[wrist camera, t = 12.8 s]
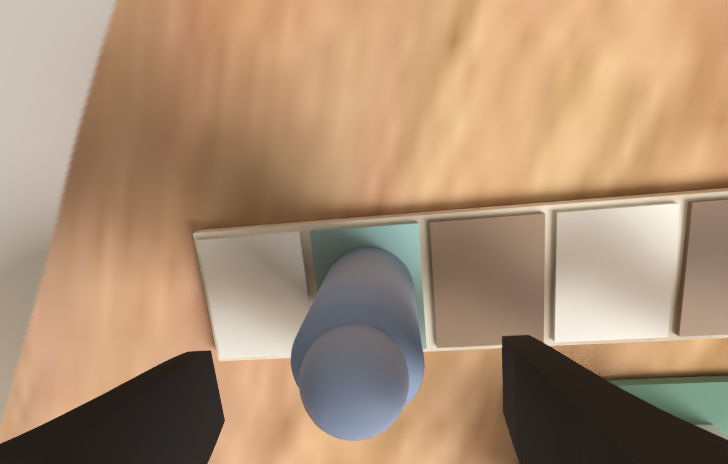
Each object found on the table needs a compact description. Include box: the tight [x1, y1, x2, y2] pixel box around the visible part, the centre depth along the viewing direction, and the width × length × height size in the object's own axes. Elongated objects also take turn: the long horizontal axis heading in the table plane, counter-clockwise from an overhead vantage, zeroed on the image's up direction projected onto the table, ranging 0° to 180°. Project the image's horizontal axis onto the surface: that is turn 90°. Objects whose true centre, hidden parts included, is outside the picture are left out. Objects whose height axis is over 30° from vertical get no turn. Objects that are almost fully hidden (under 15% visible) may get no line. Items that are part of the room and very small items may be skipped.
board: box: [193, 188, 728, 361], centre depth 15 cm, size 6×22×1 cm, turn 96°
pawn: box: [291, 247, 424, 441], centre depth 11 cm, size 3×3×7 cm
